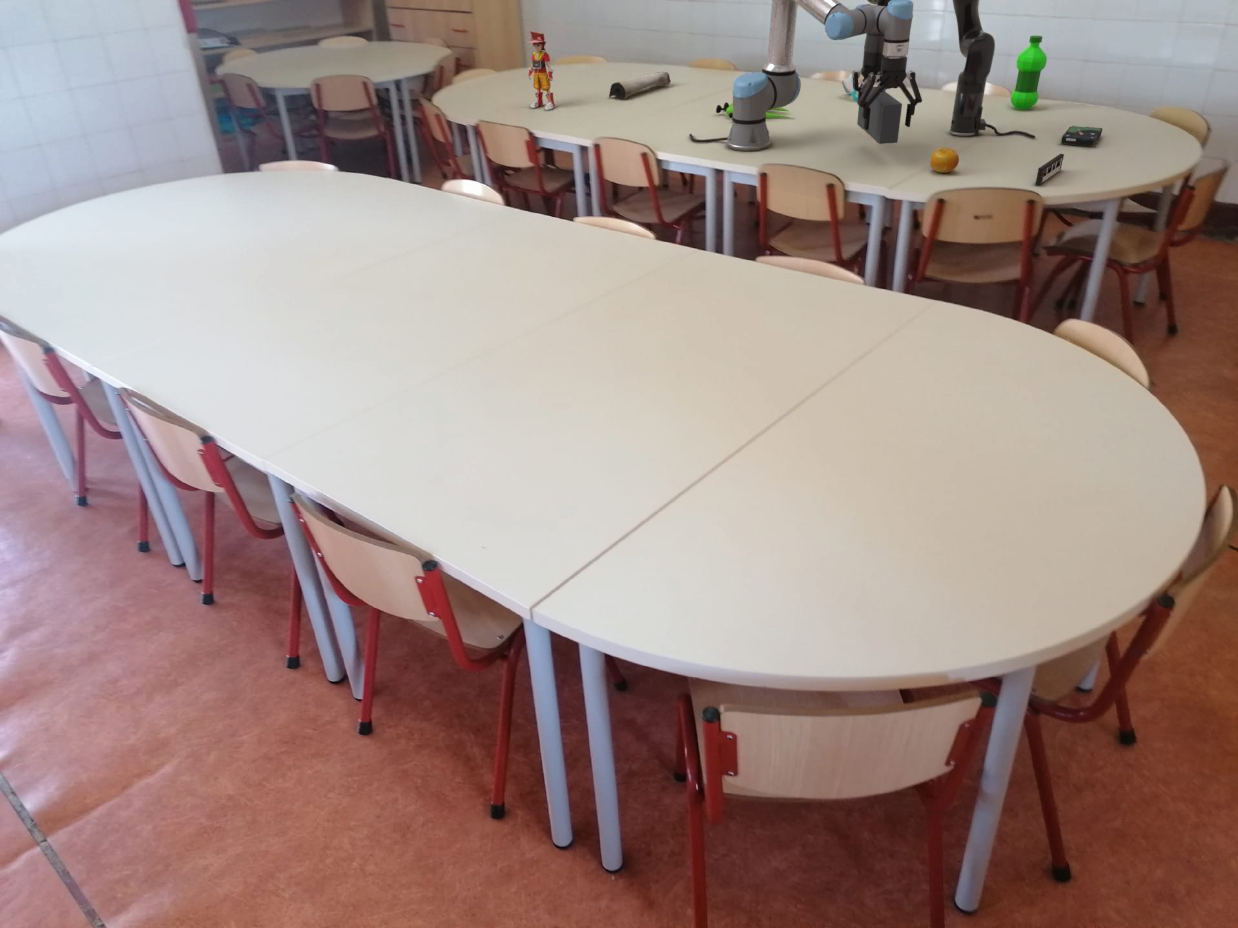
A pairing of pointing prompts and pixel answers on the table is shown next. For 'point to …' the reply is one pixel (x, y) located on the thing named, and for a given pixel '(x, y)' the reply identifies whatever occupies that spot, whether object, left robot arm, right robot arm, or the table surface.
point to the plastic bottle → (1028, 75)
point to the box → (882, 118)
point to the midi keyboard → (1049, 169)
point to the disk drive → (1081, 136)
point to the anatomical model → (850, 86)
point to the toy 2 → (730, 111)
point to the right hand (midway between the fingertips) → (870, 102)
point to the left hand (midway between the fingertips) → (886, 127)
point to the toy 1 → (541, 71)
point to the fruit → (944, 160)
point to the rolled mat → (638, 84)
